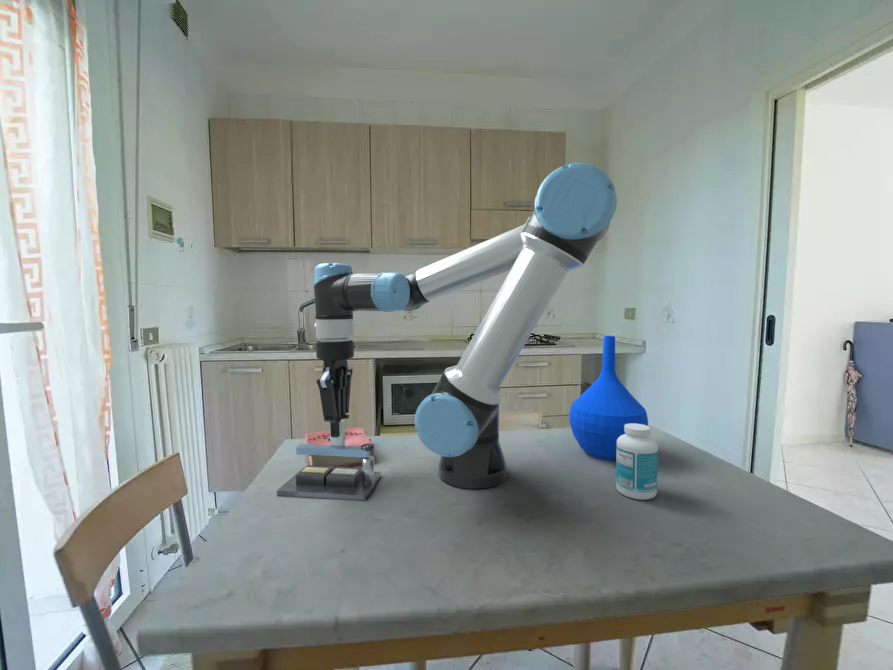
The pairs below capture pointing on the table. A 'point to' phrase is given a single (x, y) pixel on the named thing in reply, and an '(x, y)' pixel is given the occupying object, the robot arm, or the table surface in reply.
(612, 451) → the vase
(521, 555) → the table surface
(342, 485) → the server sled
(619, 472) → the pill bottle
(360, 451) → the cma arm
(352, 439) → the book
